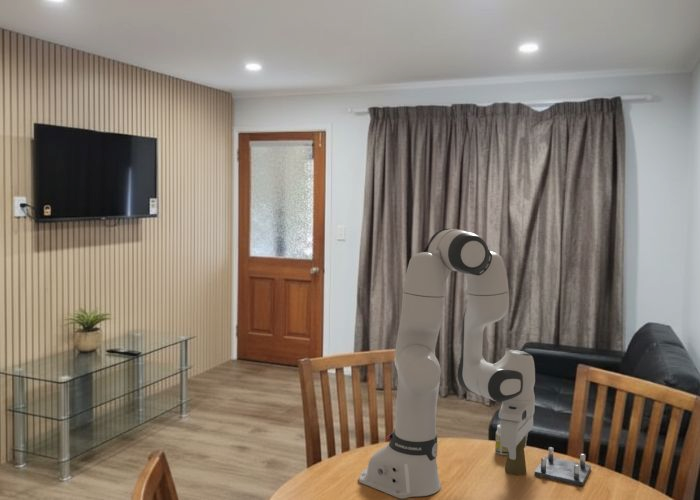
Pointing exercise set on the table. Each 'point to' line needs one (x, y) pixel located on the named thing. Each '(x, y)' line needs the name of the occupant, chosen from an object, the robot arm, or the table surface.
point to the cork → (517, 460)
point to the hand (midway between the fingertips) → (517, 452)
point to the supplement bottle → (499, 447)
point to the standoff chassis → (563, 469)
